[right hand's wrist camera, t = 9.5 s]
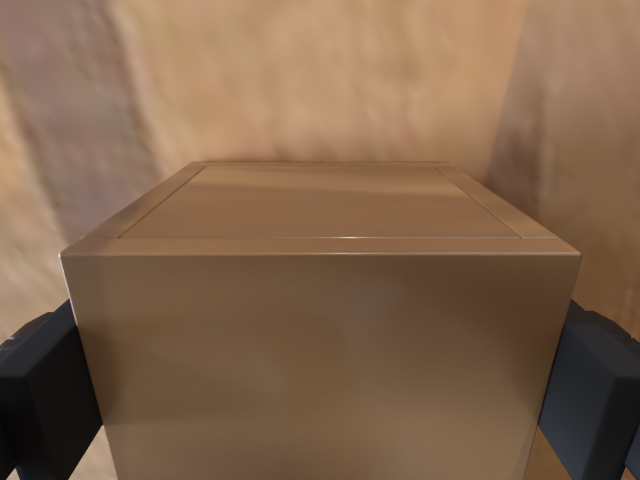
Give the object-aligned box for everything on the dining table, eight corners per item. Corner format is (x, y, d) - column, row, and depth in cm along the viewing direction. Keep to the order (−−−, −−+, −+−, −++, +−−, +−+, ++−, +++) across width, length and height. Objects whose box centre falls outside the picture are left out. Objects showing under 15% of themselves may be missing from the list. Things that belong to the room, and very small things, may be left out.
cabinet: (410, 482, 23) (463, 715, 14) (228, 483, 23) (177, 715, 14) (448, 161, 16) (585, 253, 8) (191, 161, 16) (55, 252, 8)
